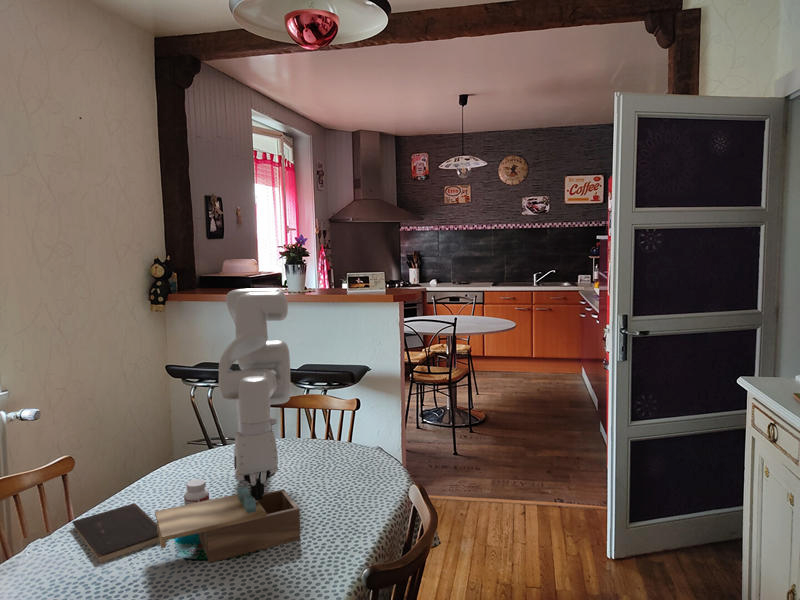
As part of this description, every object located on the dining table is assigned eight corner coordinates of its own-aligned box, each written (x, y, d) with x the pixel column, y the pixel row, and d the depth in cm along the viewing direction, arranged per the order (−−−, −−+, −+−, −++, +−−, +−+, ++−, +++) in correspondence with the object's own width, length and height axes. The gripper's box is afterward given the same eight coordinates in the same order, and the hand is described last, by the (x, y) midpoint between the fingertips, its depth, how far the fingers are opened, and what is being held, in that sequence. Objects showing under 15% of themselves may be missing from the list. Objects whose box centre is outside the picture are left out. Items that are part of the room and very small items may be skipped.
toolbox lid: (156, 527, 140) (154, 501, 139) (252, 506, 151) (251, 481, 150) (162, 554, 127) (161, 526, 127) (266, 529, 138) (266, 503, 138)
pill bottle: (208, 515, 156) (206, 476, 155) (211, 525, 151) (210, 484, 150) (184, 520, 154) (182, 480, 153) (186, 530, 148) (184, 489, 147)
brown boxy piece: (199, 538, 144) (197, 507, 143) (284, 517, 155) (283, 489, 154) (208, 563, 133) (207, 530, 132) (300, 539, 143) (299, 508, 143)
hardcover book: (98, 565, 133) (98, 556, 133) (72, 529, 150) (72, 521, 150) (168, 541, 144) (167, 532, 144) (136, 510, 161) (136, 502, 161)
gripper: (280, 418, 149) (282, 486, 151) (221, 427, 142) (223, 498, 144) (289, 426, 142) (291, 497, 144) (227, 436, 135) (230, 511, 137)
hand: (257, 497), depth 144 cm, fingers closed
